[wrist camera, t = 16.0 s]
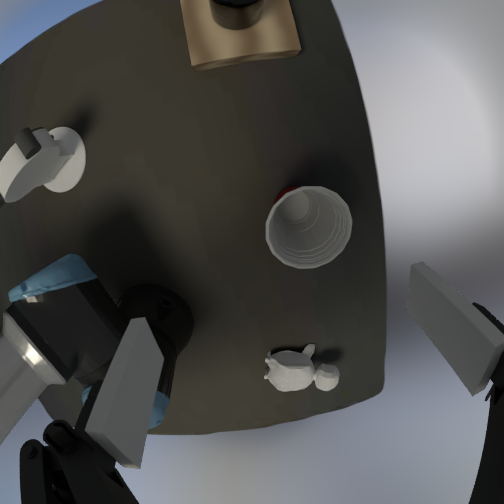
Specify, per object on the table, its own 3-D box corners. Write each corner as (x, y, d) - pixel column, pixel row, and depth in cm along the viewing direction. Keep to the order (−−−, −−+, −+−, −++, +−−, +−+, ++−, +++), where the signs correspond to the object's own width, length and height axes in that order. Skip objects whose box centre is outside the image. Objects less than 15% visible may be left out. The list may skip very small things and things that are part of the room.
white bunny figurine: (271, 364, 61) (336, 376, 57) (260, 391, 54) (332, 405, 50) (273, 335, 58) (344, 348, 54) (261, 362, 51) (341, 377, 46)
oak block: (195, 71, 36) (191, 65, 32) (181, -5, 30) (177, -15, 26) (295, 56, 35) (301, 49, 32) (276, -18, 30) (279, -30, 26)
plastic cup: (251, 233, 46) (257, 266, 35) (264, 166, 42) (275, 177, 31) (316, 243, 47) (339, 276, 36) (331, 179, 43) (363, 195, 32)
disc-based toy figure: (65, 110, 36) (8, 109, 22) (100, 157, 39) (48, 170, 26) (28, 160, 38) (-28, 176, 24) (59, 204, 42) (8, 233, 28)
